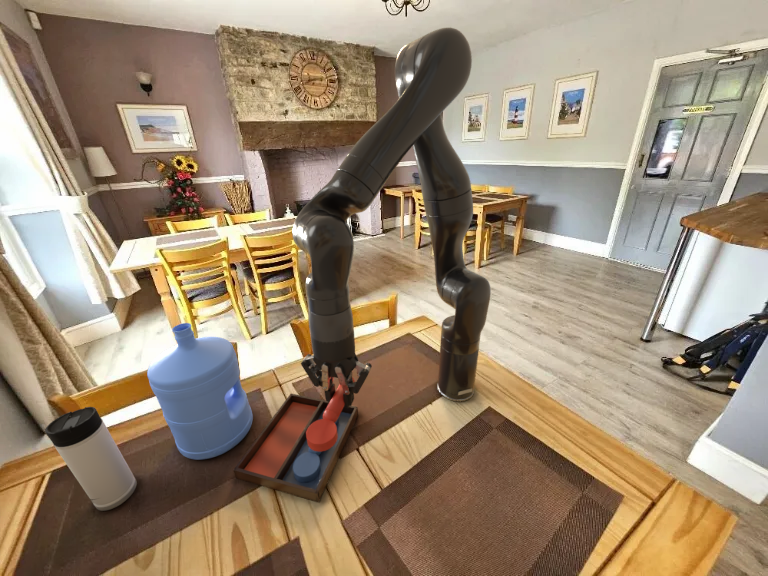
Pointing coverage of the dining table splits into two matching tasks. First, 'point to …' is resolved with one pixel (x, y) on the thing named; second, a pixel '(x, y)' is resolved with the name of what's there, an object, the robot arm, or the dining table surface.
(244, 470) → the sorting tray
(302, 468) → the blue round-ended rod
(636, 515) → the dining table surface
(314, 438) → the red disc-ended rod
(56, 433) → the travel mug
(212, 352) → the water jug
